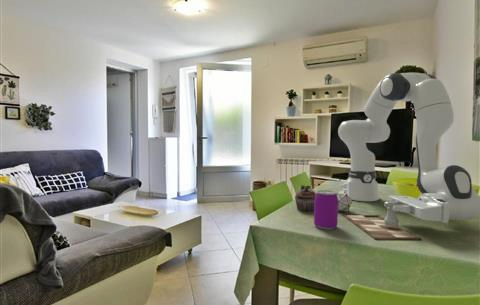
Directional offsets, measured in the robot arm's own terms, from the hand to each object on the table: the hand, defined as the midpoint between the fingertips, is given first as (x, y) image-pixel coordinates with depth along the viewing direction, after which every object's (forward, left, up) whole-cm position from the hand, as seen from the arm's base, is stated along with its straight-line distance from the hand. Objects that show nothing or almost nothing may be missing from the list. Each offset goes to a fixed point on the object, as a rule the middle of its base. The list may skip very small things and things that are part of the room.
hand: (389, 206), depth 97 cm
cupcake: (-26, -21, -8) cm, 34 cm away
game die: (-23, -7, -8) cm, 25 cm away
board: (-3, -2, -8) cm, 9 cm away
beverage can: (-2, -20, -8) cm, 22 cm away
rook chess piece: (0, +1, -6) cm, 6 cm away
